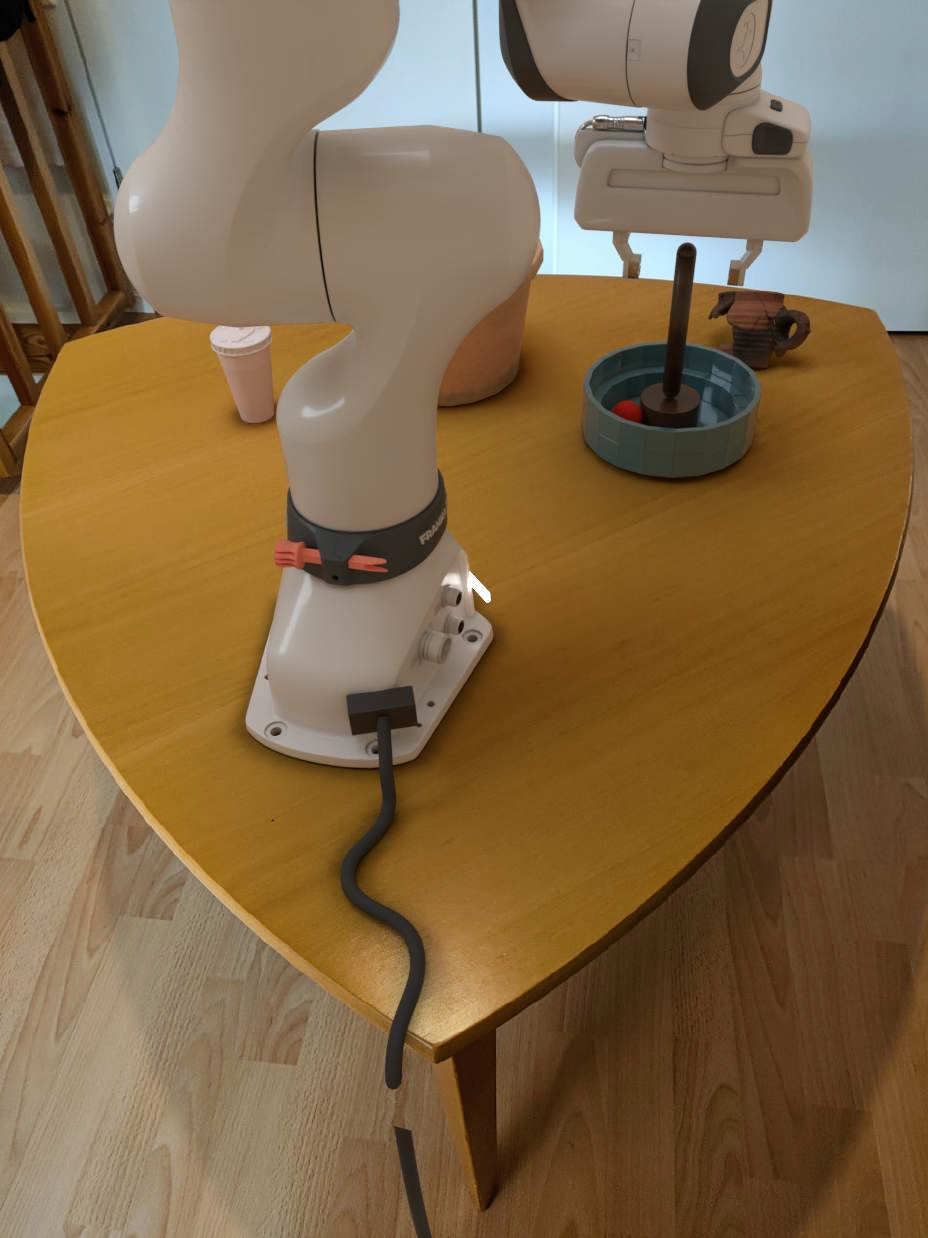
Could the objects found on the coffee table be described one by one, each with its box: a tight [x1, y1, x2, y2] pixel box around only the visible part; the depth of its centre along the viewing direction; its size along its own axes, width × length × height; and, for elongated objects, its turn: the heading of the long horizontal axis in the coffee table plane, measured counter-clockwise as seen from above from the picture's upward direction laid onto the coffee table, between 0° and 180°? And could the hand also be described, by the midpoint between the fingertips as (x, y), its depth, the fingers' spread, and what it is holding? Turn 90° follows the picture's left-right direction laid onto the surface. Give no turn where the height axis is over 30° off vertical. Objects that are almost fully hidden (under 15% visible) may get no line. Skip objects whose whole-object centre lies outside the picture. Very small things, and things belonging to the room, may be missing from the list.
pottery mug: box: [707, 290, 812, 369], centre depth 113 cm, size 12×10×8 cm
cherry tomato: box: [612, 401, 643, 424], centre depth 101 cm, size 3×3×3 cm
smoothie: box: [209, 325, 275, 424], centre depth 105 cm, size 6×6×14 cm
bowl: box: [581, 340, 762, 479], centre depth 101 cm, size 17×17×6 cm
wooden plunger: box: [640, 241, 701, 429], centre depth 97 cm, size 6×6×19 cm
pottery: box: [437, 237, 545, 407], centre depth 110 cm, size 22×22×14 cm
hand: (682, 279), depth 91 cm, fingers open, 8 cm apart
